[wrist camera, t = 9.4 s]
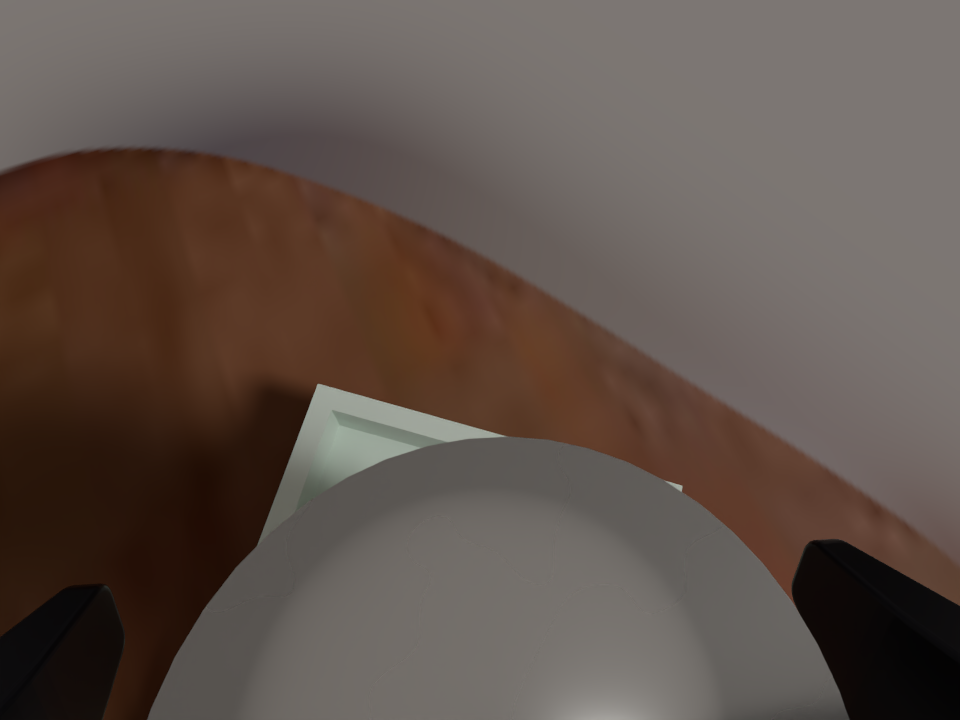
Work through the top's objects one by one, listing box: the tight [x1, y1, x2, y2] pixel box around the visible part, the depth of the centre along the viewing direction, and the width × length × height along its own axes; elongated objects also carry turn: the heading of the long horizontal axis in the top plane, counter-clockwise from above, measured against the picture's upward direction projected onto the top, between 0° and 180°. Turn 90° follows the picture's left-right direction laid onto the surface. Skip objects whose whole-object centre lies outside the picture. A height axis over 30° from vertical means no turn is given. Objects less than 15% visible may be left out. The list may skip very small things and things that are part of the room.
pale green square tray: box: [257, 384, 682, 546], centre depth 16 cm, size 11×11×2 cm
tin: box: [147, 437, 849, 720], centre depth 11 cm, size 6×6×12 cm
